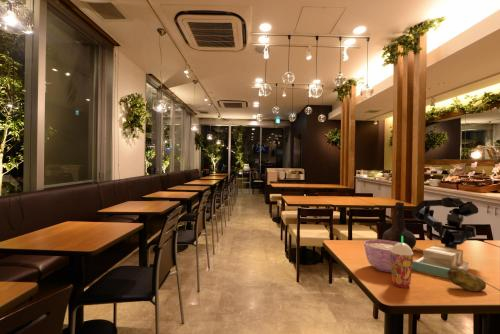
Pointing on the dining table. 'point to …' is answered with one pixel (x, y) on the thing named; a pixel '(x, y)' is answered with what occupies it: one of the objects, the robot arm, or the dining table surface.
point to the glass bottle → (399, 228)
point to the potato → (465, 279)
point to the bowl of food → (379, 253)
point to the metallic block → (443, 257)
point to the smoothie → (401, 264)
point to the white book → (433, 268)
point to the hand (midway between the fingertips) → (450, 241)
